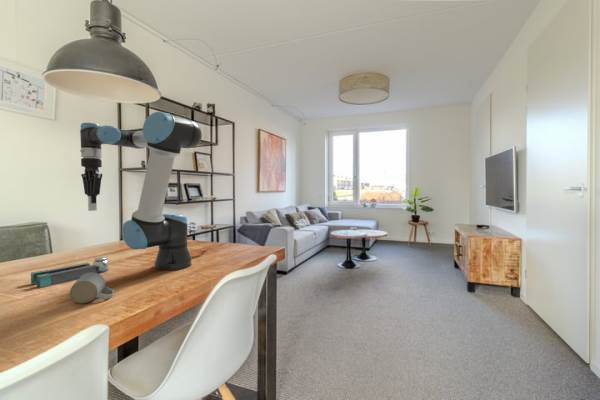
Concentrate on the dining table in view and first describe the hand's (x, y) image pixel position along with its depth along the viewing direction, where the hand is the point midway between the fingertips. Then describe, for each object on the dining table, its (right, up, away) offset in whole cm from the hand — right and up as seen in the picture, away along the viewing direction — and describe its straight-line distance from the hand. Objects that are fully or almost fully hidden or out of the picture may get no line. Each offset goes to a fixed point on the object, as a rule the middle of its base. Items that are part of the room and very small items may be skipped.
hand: (92, 210), depth 132 cm
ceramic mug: (+30, -27, -41) cm, 57 cm away
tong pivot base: (+8, -25, -20) cm, 33 cm away
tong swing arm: (+6, -25, -19) cm, 32 cm away
